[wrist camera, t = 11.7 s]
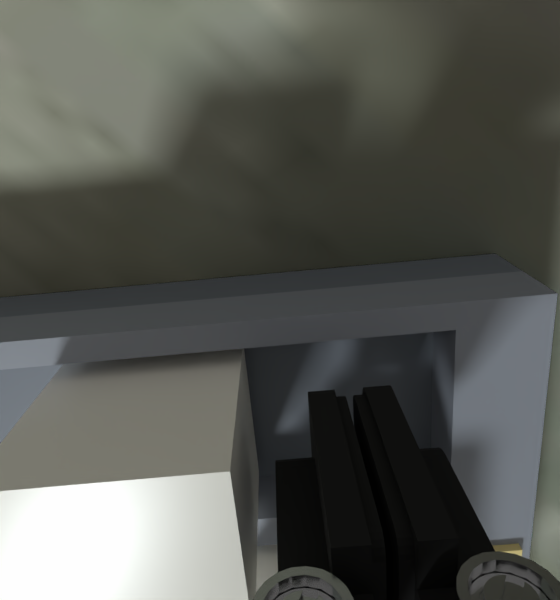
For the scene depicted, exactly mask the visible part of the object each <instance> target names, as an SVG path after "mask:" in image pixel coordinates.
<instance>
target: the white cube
mask: <svg viewBox="0 0 560 600" xmlns="http://www.w3.org/2000/svg"><path fill="white" fill-rule="evenodd" d="M258 491H259V468H258V459H257V451H256V443H255V435H254V426H253V418H252V410H251V402H250V393H249V385H248V377H247V369H246V361H245V352H244V349H232V350H221V351H210V352H198V353H187V354H175V355H164V356H153V357H141V358H130V359H118V360H107V361H96V362H84V363H73V364H63V365H62V366H61V368H60V369H59V370H58V371H57V373H56V374H55V375H54V377H53V378H52V379H51V380H50V382H49V383H48V384H47V385H46V387H45V388H44V389H43V390H42V392H41V393H40V394H39V395H38V397H37V398H36V399H35V400H34V402H33V403H32V404H31V406H30V407H29V408H28V409H27V411H26V412H25V413H24V414H23V416H22V417H21V418H20V419H19V421H18V422H17V423H16V424H15V426H14V427H13V428H12V429H11V431H10V432H9V433H8V435H7V436H6V437H5V438H4V440H3V441H2V442H1V443H0V600H253V598H254V596H255V593H256V578H257V535H258Z"/></svg>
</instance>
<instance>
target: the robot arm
mask: <svg viewBox="0 0 560 600" xmlns="http://www.w3.org/2000/svg"><path fill="white" fill-rule="evenodd" d="M308 407H309V422H310V437H311V452H312V457H310V458H297V459H285V460H276V461H275V474H276V516H277V558H278V572H277V573H276V574H274V575H273V576H272V577H270V578H269V579H267V580H266V581H265V582H264V583H263V584H262V585H261V587H260V588H259V589H258V591H257V592H256V593H255V596H254V598H253V600H560V582H559V581H558V580H557V579H556V578H555V577H554V576H553V575H552V574H551V573H550V572H549V571H548V570H546V569H545V568H543V567H542V566H540V565H538V564H537V563H535V562H534V561H532V560H530V559H527V558H524V557H522V556H519V555H517V554H512V553H506V552H500V551H496V552H495V550H494V548H493V546H492V544H491V542H490V540H489V538H488V536H487V534H486V532H485V530H484V528H483V526H482V524H481V522H480V521H479V519H478V517H477V515H476V513H475V511H474V509H473V507H472V505H471V503H470V501H469V499H468V497H467V495H466V493H465V491H464V489H463V487H462V485H461V484H460V482H459V480H458V478H457V476H456V474H455V472H454V470H453V468H452V466H451V464H450V462H449V460H448V458H447V456H446V454H445V453H444V451H443V450H442V449H441V448H439V447H437V448H424V449H419V447H418V445H417V443H416V440H415V438H414V436H413V434H412V431H411V429H410V427H409V425H408V422H407V420H406V418H405V416H404V413H403V411H402V409H401V407H400V404H399V402H398V400H397V398H396V395H395V393H394V391H393V389H392V387H391V386H390V385H386V386H373V387H363V390H362V395H354V396H353V418H354V424H353V421H352V417H351V413H350V410H349V406H348V402H347V399H346V396H338V397H336V393H335V390H323V391H310V392H308Z"/></svg>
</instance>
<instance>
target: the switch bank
mask: <svg viewBox="0 0 560 600" xmlns="http://www.w3.org/2000/svg"><path fill="white" fill-rule="evenodd" d="M557 294H558V293H556V292H554V291H553V290H551V289H550V288H548V287H547V286H545V285H544V284H542V283H540V282H539V281H537V280H536V279H534V278H533V277H531V276H530V275H528V274H526V273H525V272H523V271H522V270H520V269H519V268H517V267H516V266H514V265H512V264H511V263H509V262H508V261H506V260H505V259H503V258H502V257H500V256H498V255H497V254H485V255H474V256H463V257H451V258H440V259H429V260H418V261H406V262H395V263H384V264H373V265H361V266H350V267H339V268H328V269H316V270H305V271H294V272H283V273H271V274H260V275H249V276H237V277H226V278H215V279H204V280H192V281H181V282H170V283H159V284H147V285H136V286H125V287H114V288H102V289H91V290H80V291H68V292H57V293H46V294H35V295H23V296H12V297H1V298H0V443H1V442H2V441H3V440H4V438H5V437H6V436H7V435H8V433H9V432H10V431H11V429H12V428H13V427H14V426H15V424H16V423H17V422H18V421H19V419H20V418H21V417H22V416H23V414H24V413H25V412H26V411H27V409H28V408H29V407H30V406H31V404H32V403H33V402H34V400H35V399H36V398H37V397H38V395H39V394H40V393H41V392H42V390H43V389H44V388H45V387H46V385H47V384H48V383H49V382H50V380H51V379H52V378H53V377H54V375H55V374H56V373H57V371H58V370H59V369H60V368H61V366H62V365H63V364H73V363H84V362H96V361H107V360H118V359H130V358H141V357H153V356H164V355H175V354H187V353H198V352H210V351H221V350H232V349H244V352H245V361H246V369H247V377H248V385H249V393H250V402H251V410H252V418H253V426H254V435H255V443H256V451H257V459H258V468H259V491H258V535H257V546H265V545H276V544H277V516H276V474H275V461H276V460H285V459H297V458H310V457H312V452H311V437H310V422H309V407H308V392H310V391H323V390H335V393H336V397H338V396H346V399H347V402H348V406H349V410H350V413H351V417H352V421H353V424H354V418H353V396H354V395H362V390H363V387H373V386H386V385H390V386H391V387H392V389H393V391H394V393H395V395H396V398H397V400H398V402H399V404H400V407H401V409H402V411H403V413H404V416H405V418H406V420H407V422H408V425H409V427H410V429H411V431H412V434H413V436H414V438H415V440H416V443H417V445H418V447H419V449H424V448H437V447H439V448H441V449H442V450H443V451H444V453H445V454H446V456H447V458H448V460H449V462H450V464H451V466H452V468H453V470H454V472H455V474H456V476H457V478H458V480H459V482H460V484H461V485H462V487H463V489H464V491H465V493H466V495H467V497H468V499H469V501H470V503H471V505H472V507H473V509H474V511H475V513H476V515H477V517H478V519H479V521H480V522H481V524H482V526H483V528H484V530H485V532H486V534H487V536H488V538H489V540H490V542H491V544H492V546H493V548H494V550H495V552H496V551H500V552H506V553H512V554H517V555H519V556H522V557H524V558H527V559H529V557H530V547H531V538H532V528H533V519H534V510H535V500H536V491H537V482H538V472H539V463H540V454H541V444H542V435H543V425H544V416H545V407H546V397H547V388H548V379H549V369H550V360H551V350H552V341H553V332H554V322H555V313H556V304H557Z"/></svg>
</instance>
